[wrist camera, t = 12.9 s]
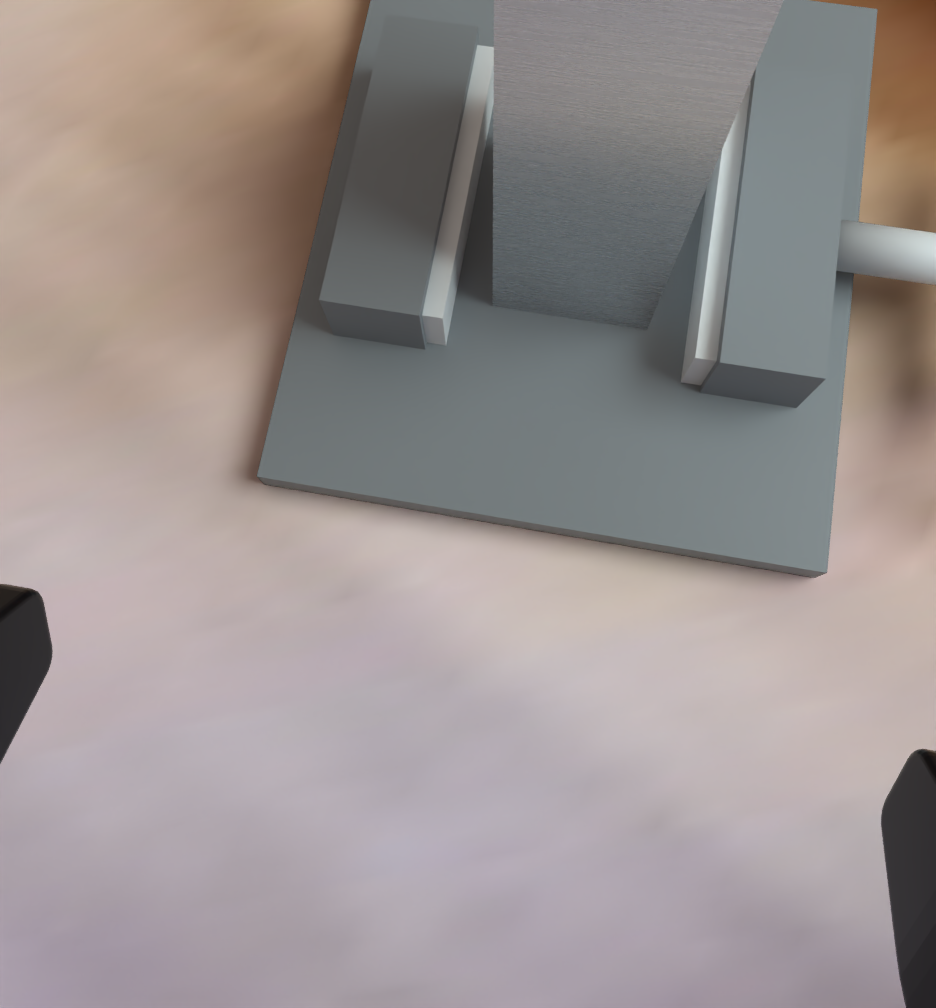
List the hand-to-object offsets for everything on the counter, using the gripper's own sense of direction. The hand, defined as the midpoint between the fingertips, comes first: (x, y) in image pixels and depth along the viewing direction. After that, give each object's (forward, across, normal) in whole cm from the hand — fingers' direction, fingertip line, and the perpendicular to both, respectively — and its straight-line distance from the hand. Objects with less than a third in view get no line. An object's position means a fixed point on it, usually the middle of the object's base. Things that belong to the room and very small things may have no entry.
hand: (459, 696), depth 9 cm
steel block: (+17, -1, 0) cm, 17 cm away
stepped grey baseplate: (+18, -3, 0) cm, 18 cm away
